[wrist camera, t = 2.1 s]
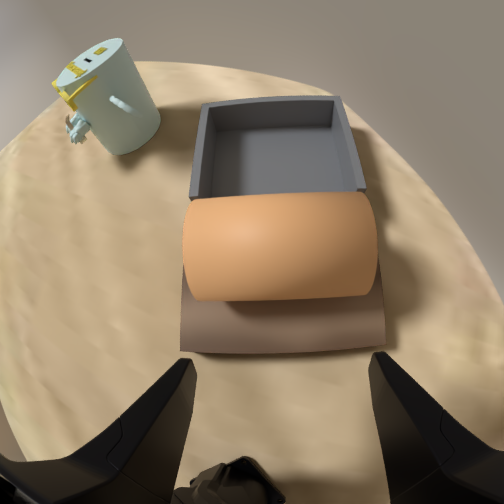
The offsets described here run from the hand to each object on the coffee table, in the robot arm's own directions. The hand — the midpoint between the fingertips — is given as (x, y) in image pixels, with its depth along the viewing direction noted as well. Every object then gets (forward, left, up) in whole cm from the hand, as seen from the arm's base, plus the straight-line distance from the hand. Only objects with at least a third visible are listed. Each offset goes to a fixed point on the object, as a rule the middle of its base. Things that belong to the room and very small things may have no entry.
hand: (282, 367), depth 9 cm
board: (+5, -3, -14) cm, 15 cm away
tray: (+15, -10, -14) cm, 23 cm away
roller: (+6, -4, -8) cm, 10 cm away
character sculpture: (+33, +1, -14) cm, 36 cm away
